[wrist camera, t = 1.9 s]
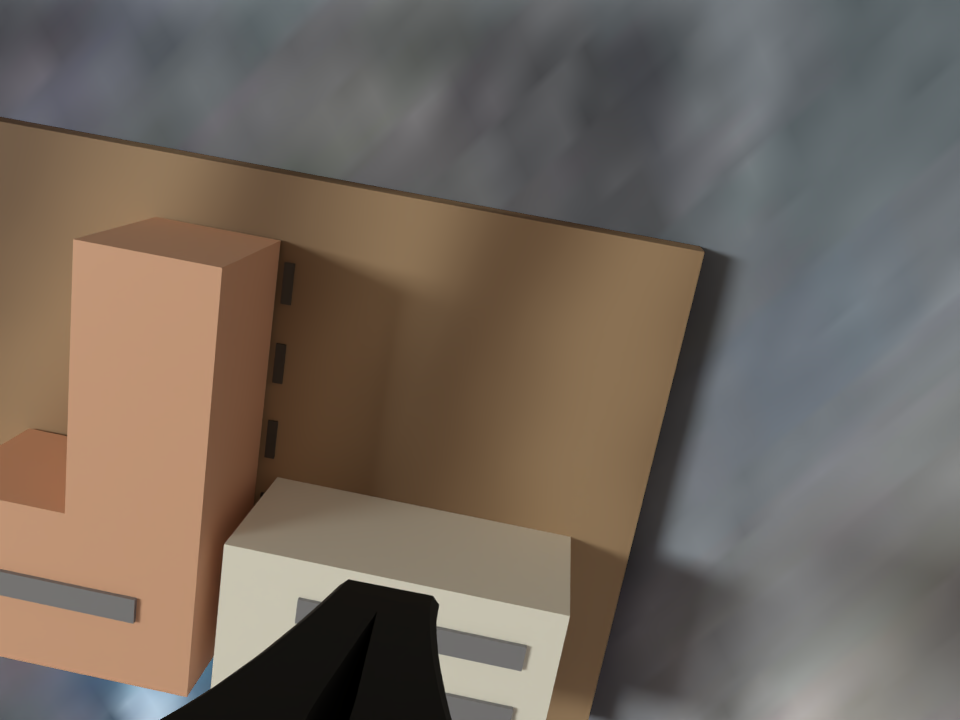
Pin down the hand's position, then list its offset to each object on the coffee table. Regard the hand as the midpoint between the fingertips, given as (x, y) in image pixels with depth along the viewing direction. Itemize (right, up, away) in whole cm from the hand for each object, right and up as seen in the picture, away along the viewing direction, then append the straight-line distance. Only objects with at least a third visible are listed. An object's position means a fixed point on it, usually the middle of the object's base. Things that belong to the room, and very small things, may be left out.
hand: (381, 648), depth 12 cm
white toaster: (0, -1, +11) cm, 11 cm away
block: (-7, +3, +10) cm, 12 cm away
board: (-5, +3, +10) cm, 12 cm away
